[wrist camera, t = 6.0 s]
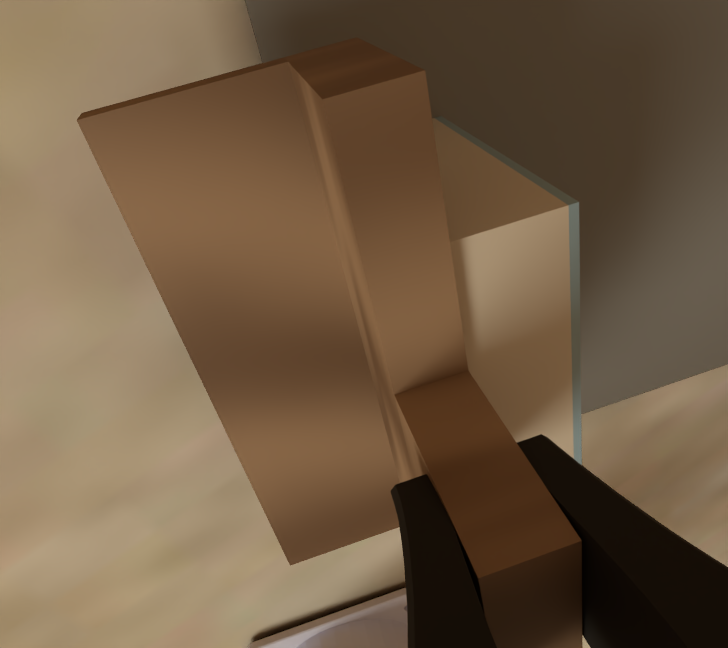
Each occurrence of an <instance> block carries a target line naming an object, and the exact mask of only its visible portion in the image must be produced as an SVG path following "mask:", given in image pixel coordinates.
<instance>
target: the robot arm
mask: <svg viewBox="0 0 728 648" xmlns="http://www.w3.org/2000/svg"><path fill="white" fill-rule="evenodd" d="M517 444H518V446H519V447H520V449H521V450H522V452H523V453H524V455H525V456H526V458H527V459H528V461H529V462H530V464H531V465H532V467H533V468H534V470H535V471H536V473H537V474H538V476H539V477H540V479H541V480H542V482H543V483H544V485H545V486H546V488H547V489H548V491H549V492H550V494H551V495H552V497H553V498H554V500H555V501H556V503H557V504H558V506H559V507H560V509H561V510H562V512H563V513H564V515H565V516H566V518H567V519H568V521H569V522H570V524H571V525H572V527H573V528H574V530H575V531H576V533H577V534H578V536H579V537H580V539H581V540H582V635H583V636H584V638H585V639H586V641H587V642H588V644H589V646H590V647H591V648H728V567H727V566H725V565H723V564H722V563H720V562H718V561H717V560H715V559H714V558H712V557H711V556H709V555H707V554H706V553H704V552H703V551H701V550H700V549H698V548H697V547H695V546H694V545H692V544H690V543H689V542H687V541H686V540H684V539H683V538H681V537H680V536H678V535H677V534H675V533H674V532H672V531H671V530H669V529H668V528H666V527H665V526H664V525H662V524H661V523H659V522H658V521H656V520H655V519H654V518H652V517H651V516H649V515H648V514H647V513H645V512H644V511H642V510H641V509H640V508H638V507H637V506H635V505H634V504H632V503H631V502H630V501H628V500H627V499H625V498H624V497H623V496H621V495H620V494H619V493H617V492H616V491H615V490H613V489H612V488H611V487H609V486H608V485H607V484H605V483H604V482H603V481H601V480H600V479H599V478H598V477H596V476H595V475H594V474H592V473H591V472H590V471H589V470H587V469H586V468H585V467H583V466H582V465H581V464H580V463H578V462H577V461H576V460H575V459H573V458H572V457H571V456H570V455H568V454H567V453H566V452H565V451H564V450H562V449H561V448H560V447H559V446H557V445H556V444H555V443H554V442H553V441H551V440H550V439H549V438H548V437H546V436H544V435H542V434H540V435H537V436H535V437H532V438H529V439H526V440H523V441H520V442H517ZM390 492H391V495H392V499H393V502H394V506H395V509H396V513H397V516H398V521H399V527H400V533H401V539H402V548H403V556H404V566H405V582H406V588H403V589H400V590H397V591H394V592H391V593H389V594H386V595H383V596H380V597H377V598H375V599H372V600H369V601H366V602H364V603H361V604H358V605H355V606H352V607H350V608H347V609H344V610H341V611H338V612H336V613H333V614H330V615H327V616H324V617H322V618H319V619H316V620H313V621H311V622H308V623H305V624H302V625H299V626H297V627H294V628H291V629H288V630H285V631H283V632H280V633H277V634H274V635H272V636H269V637H266V638H263V639H260V640H258V641H255V642H253V643H251V644H250V645H248V646H247V648H497V647H496V644H495V642H494V639H493V637H492V634H491V632H490V629H489V627H488V624H487V621H486V618H485V615H484V613H483V610H482V607H481V604H480V601H479V598H478V595H477V593H476V590H475V587H474V584H473V581H472V578H471V575H470V573H469V570H468V567H467V564H466V561H465V558H464V555H463V553H462V550H461V547H460V544H459V541H458V538H457V536H456V533H455V530H454V527H453V524H452V521H451V519H450V517H449V515H448V513H447V511H446V509H445V507H444V505H443V503H442V501H441V499H440V497H439V495H438V493H437V492H436V490H435V488H434V486H433V484H432V482H431V481H430V479H429V477H428V475H427V474H425V475H422V476H419V477H416V478H413V479H410V480H407V481H404V482H401V483H399V484H396V485H395V486H394V487H393V488H392V490H391V491H390Z"/></svg>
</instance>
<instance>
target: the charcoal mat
mask: <svg viewBox="0 0 728 648" xmlns="http://www.w3.org/2000/svg"><path fill="white" fill-rule="evenodd" d="M245 3H246V6H247V9H248V13H249V16H250V20H251V23H252V27H253V30H254V34H255V37H256V41H257V44H258V48H259V51H260V54H261V58H262V61H263V63H265V62H269V61H272V60H276V59H280V58H283V57H287V56H290V55H294V54H298V53H301V52H305V51H308V50H312V49H316V48H319V47H323V46H327V45H330V44H334V43H337V42H341V41H345V40H348V39H352V38H356V37H357V38H360V39H362V40H364V41H366V42H368V43H370V44H372V45H374V46H376V47H378V48H380V49H382V50H384V51H386V52H388V53H391V54H393V55H395V56H397V57H399V58H401V59H403V60H405V61H407V62H409V63H411V64H413V65H415V66H417V67H420V68H422V69H424V70H425V73H426V79H427V86H428V93H429V100H430V107H431V114H432V118H436V117H439V116H442V117H443V118H445V119H447V120H448V121H450V122H452V123H453V124H455V125H456V126H458V127H460V128H461V129H463V130H464V131H466V132H468V133H469V134H471V135H472V136H474V137H476V138H477V139H479V140H480V141H482V142H484V143H485V144H487V145H488V146H490V147H492V148H493V149H495V150H496V151H498V152H500V153H501V154H503V155H504V156H506V157H508V158H509V159H511V160H513V161H514V162H516V163H517V164H519V165H521V166H522V167H524V168H525V169H527V170H529V171H530V172H532V173H533V174H535V175H537V176H538V177H540V178H541V179H543V180H545V181H546V182H548V183H549V184H551V185H553V186H554V187H556V188H557V189H559V190H561V191H562V192H564V193H566V194H567V195H569V196H570V197H572V198H574V199H575V200H577V201H578V202H579V244H580V346H581V414H584V413H586V412H589V411H592V410H595V409H598V408H601V407H604V406H607V405H610V404H613V403H616V402H619V401H622V400H624V399H627V398H630V397H633V396H636V395H639V394H642V393H645V392H648V391H651V390H654V389H657V388H660V387H662V386H665V385H668V384H671V383H674V382H677V381H680V380H683V379H686V378H689V377H692V376H695V375H698V374H700V373H703V372H706V371H709V370H712V369H715V368H718V367H721V366H724V365H727V364H728V0H245Z"/></svg>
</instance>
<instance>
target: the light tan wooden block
mask: <svg viewBox="0 0 728 648" xmlns="http://www.w3.org/2000/svg"><path fill="white" fill-rule="evenodd" d="M432 121H433V128H434V135H435V142H436V149H437V156H438V163H439V170H440V177H441V184H442V191H443V197H444V204H445V211H446V218H447V225H448V232H449V239H450V246H451V253H452V260H453V267H454V274H455V281H456V288H457V295H458V302H459V309H460V315H461V322H462V329H463V336H464V343H465V350H466V357H467V364H468V371H469V372H470V374H471V375H472V377H473V378H474V380H475V381H476V383H477V384H478V386H479V387H480V389H481V390H482V392H483V393H484V395H485V396H486V398H487V399H488V401H489V402H490V404H491V405H492V407H493V408H494V410H495V411H496V413H497V414H498V416H499V417H500V419H501V420H502V422H503V423H504V425H505V426H506V428H507V429H508V431H509V432H510V434H511V435H512V437H513V438H514V440H515V441H516V443H517V442H520V441H523V440H526V439H529V438H532V437H535V436H537V435H540V434H542V435H544V436H546V437H548V438H549V439H550V440H551V441H553V442H554V443H555V444H556V445H557V446H559V447H560V448H561V449H562V450H564V451H565V452H566V453H567V454H568V455H570V456H571V457H572V458H573V459H575V460H576V461H577V462H578V463H580V464H581V465H582V448H581V346H580V244H579V202H578V201H577V200H575V199H574V198H572V197H570V196H569V195H567V194H566V193H564V192H562V191H561V190H559V189H557V188H556V187H554V186H553V185H551V184H549V183H548V182H546V181H545V180H543V179H541V178H540V177H538V176H537V175H535V174H533V173H532V172H530V171H529V170H527V169H525V168H524V167H522V166H521V165H519V164H517V163H516V162H514V161H513V160H511V159H509V158H508V157H506V156H504V155H503V154H501V153H500V152H498V151H496V150H495V149H493V148H492V147H490V146H488V145H487V144H485V143H484V142H482V141H480V140H479V139H477V138H476V137H474V136H472V135H471V134H469V133H468V132H466V131H464V130H463V129H461V128H460V127H458V126H456V125H455V124H453V123H452V122H450V121H448V120H447V119H445V118H443V117H442V116H439V117H436V118H432Z"/></svg>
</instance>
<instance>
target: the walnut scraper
mask: <svg viewBox="0 0 728 648" xmlns="http://www.w3.org/2000/svg"><path fill="white" fill-rule="evenodd" d="M77 122H78V124H79V126H80V128H81V130H82V132H83V134H84V136H85V138H86V141H87V143H88V145H89V147H90V149H91V151H92V153H93V155H94V157H95V159H96V161H97V163H98V166H99V168H100V170H101V172H102V174H103V176H104V178H105V180H106V182H107V184H108V186H109V189H110V191H111V193H112V195H113V197H114V199H115V201H116V203H117V205H118V207H119V209H120V211H121V214H122V216H123V218H124V220H125V222H126V224H127V226H128V228H129V230H130V232H131V234H132V236H133V239H134V241H135V243H136V245H137V247H138V249H139V251H140V253H141V255H142V257H143V259H144V262H145V264H146V266H147V268H148V270H149V272H150V274H151V276H152V278H153V280H154V282H155V284H156V287H157V289H158V291H159V293H160V295H161V297H162V299H163V301H164V303H165V305H166V307H167V310H168V312H169V314H170V316H171V318H172V320H173V322H174V324H175V326H176V328H177V330H178V332H179V335H180V337H181V339H182V341H183V343H184V345H185V347H186V349H187V351H188V353H189V355H190V358H191V360H192V362H193V364H194V366H195V368H196V370H197V372H198V374H199V376H200V378H201V380H202V383H203V385H204V387H205V389H206V391H207V393H208V395H209V397H210V399H211V401H212V403H213V405H214V408H215V410H216V412H217V414H218V416H219V418H220V420H221V422H222V424H223V426H224V428H225V431H226V433H227V435H228V437H229V439H230V441H231V443H232V445H233V447H234V449H235V451H236V453H237V456H238V458H239V460H240V462H241V464H242V466H243V468H244V470H245V472H246V474H247V476H248V479H249V481H250V483H251V485H252V487H253V489H254V491H255V493H256V495H257V497H258V499H259V501H260V504H261V506H262V508H263V510H264V512H265V514H266V516H267V518H268V520H269V522H270V524H271V526H272V529H273V531H274V533H275V535H276V537H277V539H278V541H279V543H280V545H281V547H282V549H283V552H284V554H285V556H286V558H287V560H288V562H289V564H290V565H293V564H296V563H298V562H301V561H304V560H307V559H310V558H313V557H315V556H318V555H321V554H324V553H327V552H330V551H333V550H335V549H338V548H341V547H344V546H347V545H350V544H352V543H355V542H358V541H361V540H364V539H367V538H369V537H372V536H375V535H378V534H381V533H384V532H386V531H389V530H392V529H395V528H398V527H399V521H398V516H397V513H396V509H395V506H394V502H393V499H392V495H391V492H390V491H391V490H392V488H393V487H394V486H395V485H396V484H399V483H401V482H404V481H407V480H410V479H413V478H416V477H419V476H422V475H425V474H427V475H428V477H429V479H430V481H431V482H432V484H433V486H434V488H435V490H436V492H437V493H438V495H439V497H440V499H441V501H442V503H443V505H444V507H445V509H446V511H447V513H448V515H449V517H450V519H451V521H452V524H453V527H454V530H455V533H456V536H457V538H458V541H459V544H460V547H461V550H462V553H463V555H464V558H465V561H466V564H467V567H468V570H469V573H470V575H471V578H472V581H473V584H474V587H475V590H476V593H477V595H478V598H479V601H480V604H481V607H482V610H483V613H484V615H485V618H486V621H487V624H488V627H489V629H490V632H491V634H492V637H493V639H494V642H495V644H496V647H497V648H582V540H581V539H580V537H579V536H578V534H577V533H576V531H575V530H574V528H573V527H572V525H571V524H570V522H569V521H568V519H567V518H566V516H565V515H564V513H563V512H562V510H561V509H560V507H559V506H558V504H557V503H556V501H555V500H554V498H553V497H552V495H551V494H550V492H549V491H548V489H547V488H546V486H545V485H544V483H543V482H542V480H541V479H540V477H539V476H538V474H537V473H536V471H535V470H534V468H533V467H532V465H531V464H530V462H529V461H528V459H527V458H526V456H525V455H524V453H523V452H522V450H521V449H520V447H519V446H518V444H517V443H516V441H515V440H514V438H513V437H512V435H511V434H510V432H509V431H508V429H507V428H506V426H505V425H504V423H503V422H502V420H501V419H500V417H499V416H498V414H497V413H496V411H495V410H494V408H493V407H492V405H491V404H490V402H489V401H488V399H487V398H486V396H485V395H484V393H483V392H482V390H481V389H480V387H479V386H478V384H477V383H476V381H475V380H474V378H473V377H472V375H471V374H470V372H469V371H468V364H467V357H466V350H465V343H464V336H463V329H462V322H461V315H460V309H459V302H458V295H457V288H456V281H455V274H454V267H453V260H452V253H451V246H450V239H449V232H448V225H447V218H446V211H445V204H444V197H443V191H442V184H441V177H440V170H439V163H438V156H437V149H436V142H435V135H434V128H433V121H432V114H431V107H430V100H429V93H428V86H427V79H426V73H425V70H424V69H422V68H420V67H417V66H415V65H413V64H411V63H409V62H407V61H405V60H403V59H401V58H399V57H397V56H395V55H393V54H391V53H388V52H386V51H384V50H382V49H380V48H378V47H376V46H374V45H372V44H370V43H368V42H366V41H364V40H362V39H360V38H357V37H356V38H352V39H348V40H345V41H341V42H337V43H334V44H330V45H327V46H323V47H319V48H316V49H312V50H308V51H305V52H301V53H298V54H294V55H290V56H287V57H283V58H280V59H276V60H272V61H269V62H265V63H261V64H258V65H254V66H251V67H247V68H243V69H240V70H236V71H232V72H229V73H225V74H222V75H218V76H214V77H211V78H207V79H204V80H200V81H196V82H193V83H189V84H185V85H182V86H178V87H175V88H171V89H167V90H164V91H160V92H156V93H153V94H149V95H146V96H142V97H138V98H135V99H131V100H128V101H124V102H120V103H117V104H113V105H109V106H106V107H102V108H99V109H95V110H91V111H88V112H84V113H82V114H81V115H80V116H79V118H78V119H77Z"/></svg>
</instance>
